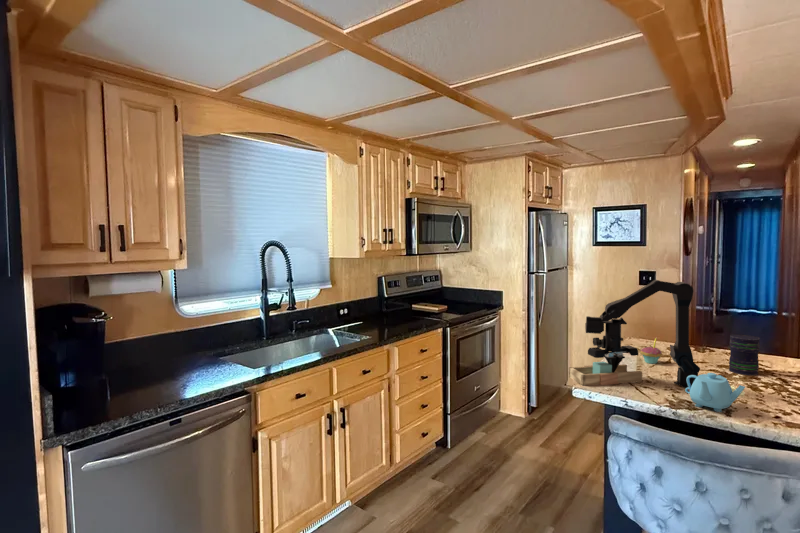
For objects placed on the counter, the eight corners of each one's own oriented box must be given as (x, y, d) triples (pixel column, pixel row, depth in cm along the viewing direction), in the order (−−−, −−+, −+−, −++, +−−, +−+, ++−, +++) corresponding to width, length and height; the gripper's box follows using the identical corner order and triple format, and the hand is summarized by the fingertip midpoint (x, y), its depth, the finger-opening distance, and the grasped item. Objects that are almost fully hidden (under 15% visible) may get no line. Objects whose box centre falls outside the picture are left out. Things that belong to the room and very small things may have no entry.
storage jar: (764, 376, 177) (765, 340, 176) (736, 374, 179) (738, 339, 178) (749, 368, 187) (751, 334, 186) (723, 367, 189) (725, 333, 188)
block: (611, 377, 173) (611, 365, 173) (599, 378, 172) (600, 365, 172) (603, 373, 178) (604, 361, 178) (592, 374, 177) (592, 362, 177)
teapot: (748, 416, 138) (750, 381, 138) (701, 414, 140) (702, 380, 140) (721, 399, 153) (722, 367, 153) (678, 397, 156) (679, 366, 155)
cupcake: (656, 360, 202) (657, 334, 201) (665, 365, 193) (666, 338, 193) (636, 359, 203) (637, 334, 202) (645, 365, 194) (646, 338, 194)
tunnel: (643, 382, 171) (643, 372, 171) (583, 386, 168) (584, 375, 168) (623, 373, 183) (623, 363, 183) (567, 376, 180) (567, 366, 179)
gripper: (621, 329, 184) (621, 365, 185) (580, 331, 181) (580, 368, 183) (639, 334, 173) (638, 373, 174) (596, 337, 170) (595, 376, 172)
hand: (612, 372), depth 176 cm, fingers closed
